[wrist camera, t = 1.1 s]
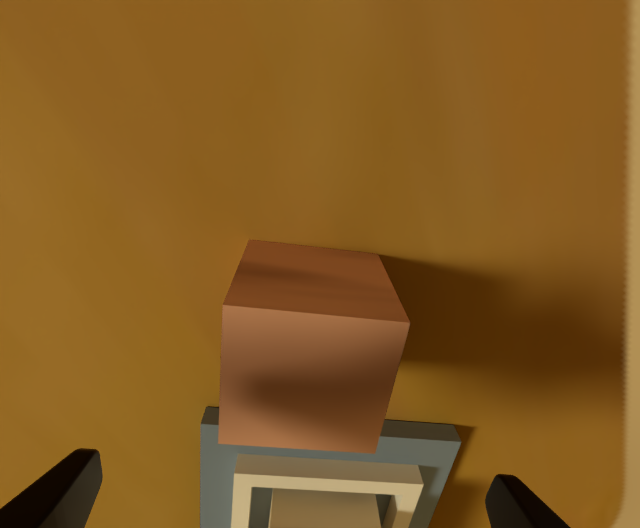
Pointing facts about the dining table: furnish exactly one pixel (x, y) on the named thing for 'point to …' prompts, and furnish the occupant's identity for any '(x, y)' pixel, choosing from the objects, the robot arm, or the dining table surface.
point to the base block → (322, 509)
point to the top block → (308, 349)
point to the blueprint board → (327, 474)
